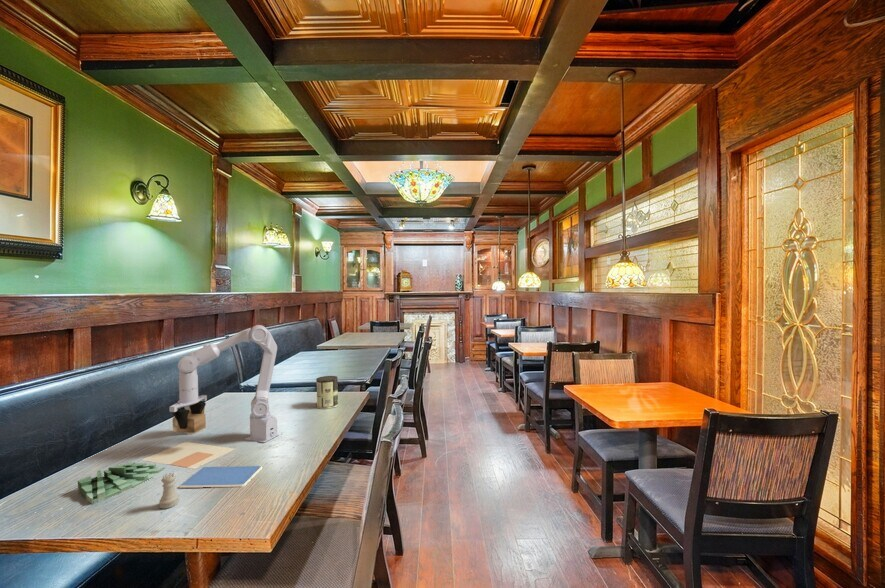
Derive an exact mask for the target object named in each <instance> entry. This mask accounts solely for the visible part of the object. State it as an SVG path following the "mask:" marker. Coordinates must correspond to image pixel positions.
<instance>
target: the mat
mask: <svg viewBox="0 0 885 588" xmlns="http://www.w3.org/2000/svg"><path fill="white" fill-rule="evenodd" d="M234 450H235V448H232V447H226V446H225V447H224V446H218V445H210V444H205V443H204V444H203V443H197V442H196V443H195V442H190V441H184V442H182V443H180V444H177V445H175V446H172V447H169V448H167V449H165V450H162V451H160V452H158V453H155V454H153V455H150V456H148V457H144V458H142V459H141V461H145V462H150V463H151V462H152V463H155V464H156V463H157V464H164V465H169V466H176V467H181V468H188V469H193V470H194V469H197V468H199V467H201V466H203V465H205V464H207V463H210V462H211V461H214V460H215V459H218V458H220V457H222V456H224V455H226V454H228V453H230V452H232V451H234ZM200 465H201V466H200Z"/></svg>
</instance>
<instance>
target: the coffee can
mask: <svg viewBox="0 0 885 588" xmlns="http://www.w3.org/2000/svg"><path fill="white" fill-rule="evenodd" d="M315 380H316V408H317V409H320V410H329V409H333V408H336V407H338V406H339V399H338V398H339V395H338V394H339V393H338V390H339V389H338V376H336V375H324V376H323V375H322V376H320V377H317V378H315Z"/></svg>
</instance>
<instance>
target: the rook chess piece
mask: <svg viewBox="0 0 885 588" xmlns="http://www.w3.org/2000/svg"><path fill="white" fill-rule="evenodd" d="M176 478H177V476H176V475H175V473H174V472H173V473H172V472H170V473H169V474H168V473H166V474H165V475H163V476H162V479H161V483H163V484H162V488H163V489H162V490H163V491H162V496H160V499H159V501H158V502H159V505H158V507H159V508H160V509H162V510H165V509H170V508H173V507H175V506H176V505H177V504H178V503H179V502H180V499H179V497H180V496H179V495H178V493H177V492H176V489H175V484H176V482H175V480H176Z"/></svg>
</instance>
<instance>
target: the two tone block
mask: <svg viewBox="0 0 885 588" xmlns="http://www.w3.org/2000/svg"><path fill="white" fill-rule="evenodd" d="M206 422H207V421H206V413H204V414H189V413H188V417H187V427H186V429H180V427H179V424H178V422H177V419H176V418H175V416H174V417H172V432H173V433H174V432H175V433H177V432H178V433H185V432H190V433H195V432H197V431H200V430H202V429H203V430H204V429H206V427H207V426H206Z"/></svg>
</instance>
